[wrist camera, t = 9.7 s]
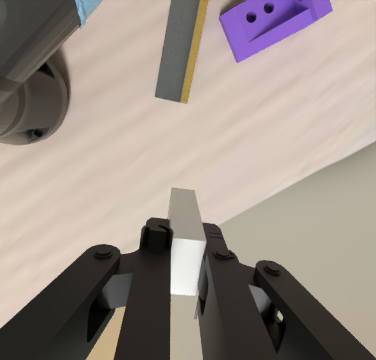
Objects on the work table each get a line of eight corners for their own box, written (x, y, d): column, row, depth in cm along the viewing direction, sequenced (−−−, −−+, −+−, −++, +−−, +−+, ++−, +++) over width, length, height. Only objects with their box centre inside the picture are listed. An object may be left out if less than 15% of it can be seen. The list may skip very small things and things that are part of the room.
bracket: (292, -21, 39) (315, -47, 32) (307, 26, 40) (332, 10, 34) (218, 19, 40) (226, 2, 33) (236, 63, 41) (247, 55, 35)
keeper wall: (155, 97, 42) (151, 95, 36) (186, -83, 36) (188, -124, 29) (185, 103, 42) (187, 103, 36) (221, -73, 36) (230, -111, 30)
